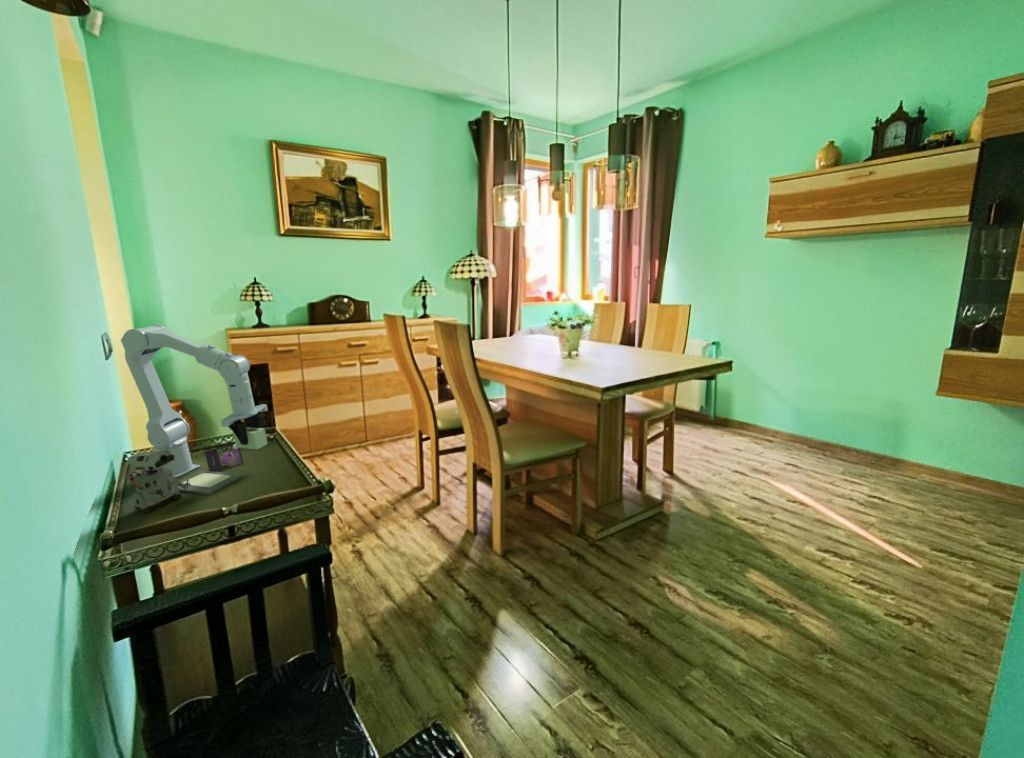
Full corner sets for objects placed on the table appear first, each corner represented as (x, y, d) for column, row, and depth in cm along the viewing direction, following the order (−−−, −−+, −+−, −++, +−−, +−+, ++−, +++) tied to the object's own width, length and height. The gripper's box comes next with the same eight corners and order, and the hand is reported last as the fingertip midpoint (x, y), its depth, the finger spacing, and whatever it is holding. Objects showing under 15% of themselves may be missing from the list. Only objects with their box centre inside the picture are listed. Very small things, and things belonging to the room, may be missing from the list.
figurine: (156, 519, 116) (140, 462, 112) (133, 510, 121) (116, 456, 117) (195, 501, 124) (181, 448, 120) (171, 494, 129) (157, 442, 125)
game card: (204, 451, 140) (238, 442, 146) (203, 452, 144) (236, 443, 150) (210, 473, 140) (244, 463, 146) (209, 473, 144) (242, 464, 150)
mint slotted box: (256, 449, 138) (253, 432, 137) (236, 447, 141) (232, 431, 139) (267, 444, 142) (264, 428, 140) (247, 442, 144) (243, 426, 143)
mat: (165, 489, 132) (165, 487, 132) (201, 472, 142) (201, 469, 142) (208, 494, 127) (207, 492, 127) (242, 476, 137) (242, 474, 137)
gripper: (230, 405, 129) (240, 451, 133) (271, 390, 143) (280, 433, 146) (211, 404, 132) (221, 450, 135) (253, 390, 145) (262, 431, 148)
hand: (251, 441), depth 141 cm, fingers closed on mint slotted box, 4 cm apart
